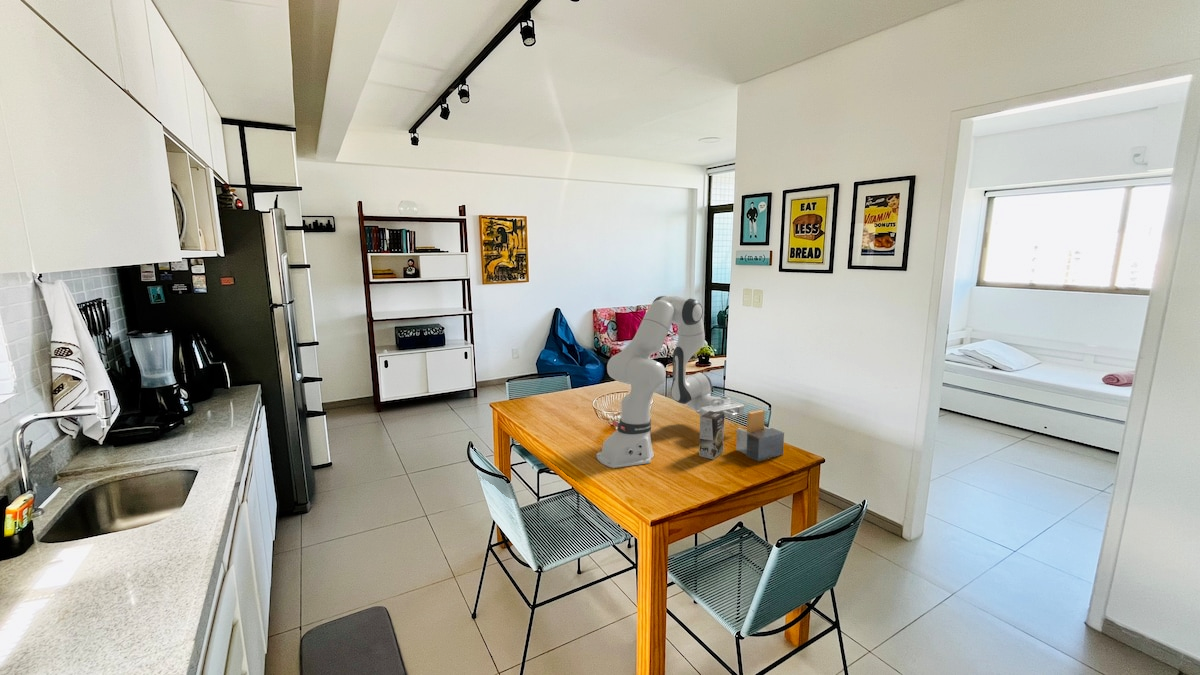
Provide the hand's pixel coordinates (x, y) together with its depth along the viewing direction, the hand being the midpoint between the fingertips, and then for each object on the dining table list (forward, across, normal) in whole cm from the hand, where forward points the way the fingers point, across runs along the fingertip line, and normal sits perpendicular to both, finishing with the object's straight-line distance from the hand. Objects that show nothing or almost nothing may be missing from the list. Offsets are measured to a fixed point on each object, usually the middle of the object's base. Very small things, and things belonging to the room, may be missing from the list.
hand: (735, 415), depth 201 cm
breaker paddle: (+11, 0, +5) cm, 12 cm away
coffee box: (+6, -17, +11) cm, 21 cm away
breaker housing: (+14, 0, +11) cm, 18 cm away
